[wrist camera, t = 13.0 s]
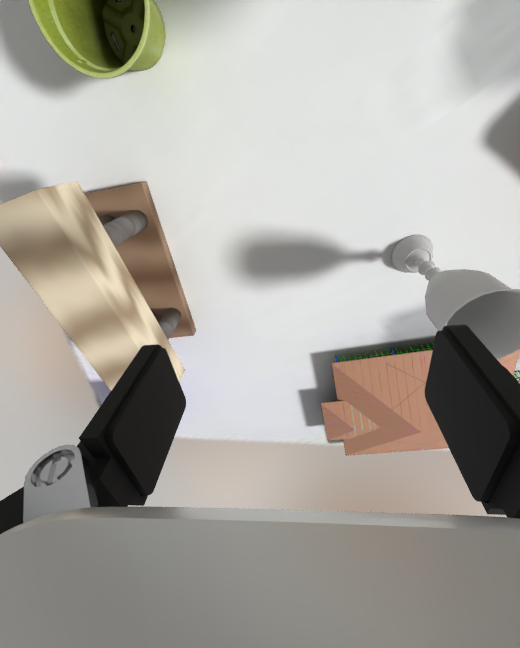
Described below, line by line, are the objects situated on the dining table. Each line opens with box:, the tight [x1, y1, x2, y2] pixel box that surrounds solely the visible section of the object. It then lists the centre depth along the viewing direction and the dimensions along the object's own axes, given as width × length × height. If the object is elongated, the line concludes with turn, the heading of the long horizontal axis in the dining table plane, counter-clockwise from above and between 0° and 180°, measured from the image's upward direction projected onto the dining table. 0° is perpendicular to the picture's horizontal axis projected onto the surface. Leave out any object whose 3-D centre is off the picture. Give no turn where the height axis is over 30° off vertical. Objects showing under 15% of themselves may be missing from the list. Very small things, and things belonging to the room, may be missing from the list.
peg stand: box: [85, 182, 196, 339], centre depth 39 cm, size 22×8×10 cm, turn 10°
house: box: [321, 343, 520, 456], centre depth 48 cm, size 23×33×8 cm
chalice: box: [391, 235, 520, 359], centre depth 31 cm, size 7×7×18 cm
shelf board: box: [0, 181, 185, 391], centre depth 33 cm, size 24×6×6 cm, turn 18°
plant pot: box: [28, 0, 165, 78], centre depth 26 cm, size 9×9×9 cm
